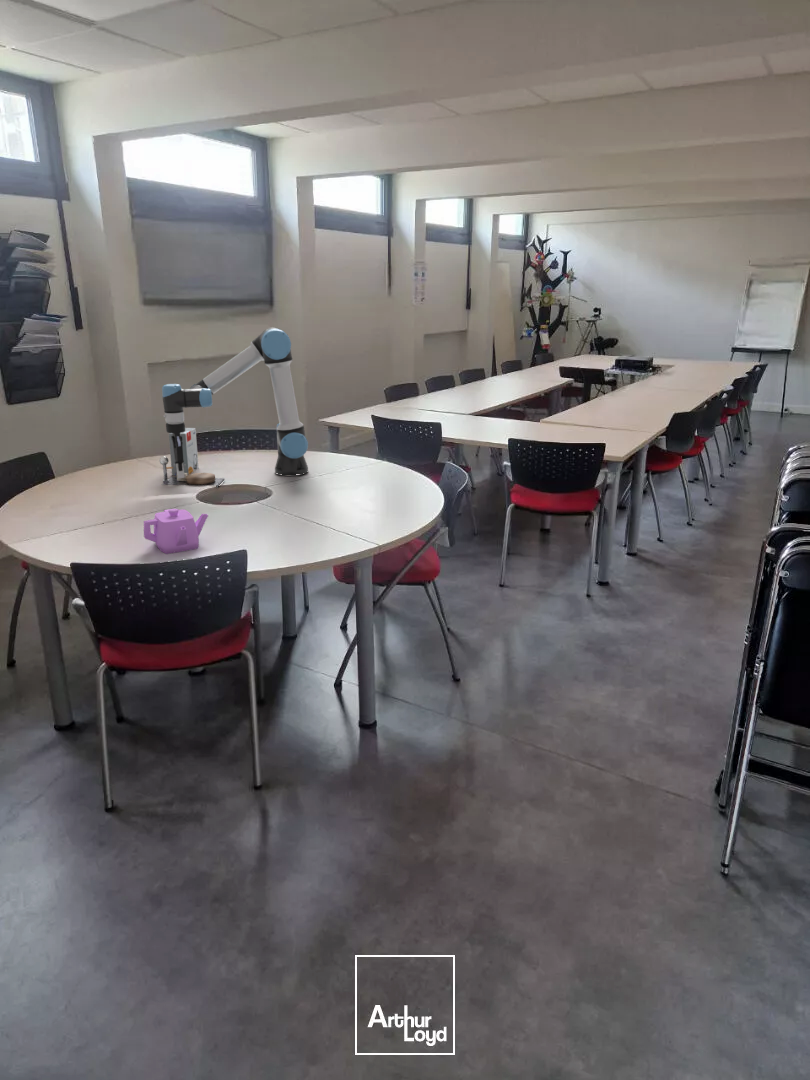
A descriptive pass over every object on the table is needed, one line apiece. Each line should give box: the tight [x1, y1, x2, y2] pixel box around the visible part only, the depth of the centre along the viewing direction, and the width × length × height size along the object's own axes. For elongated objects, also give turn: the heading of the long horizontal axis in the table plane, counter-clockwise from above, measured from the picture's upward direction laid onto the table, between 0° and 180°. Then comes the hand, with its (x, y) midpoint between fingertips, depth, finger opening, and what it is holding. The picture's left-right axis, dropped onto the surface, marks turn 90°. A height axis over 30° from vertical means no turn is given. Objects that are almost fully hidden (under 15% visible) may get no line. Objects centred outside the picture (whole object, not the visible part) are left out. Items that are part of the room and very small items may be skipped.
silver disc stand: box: [159, 456, 173, 484], centre depth 299 cm, size 5×2×11 cm, turn 108°
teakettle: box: [143, 508, 209, 555], centre depth 230 cm, size 17×17×12 cm
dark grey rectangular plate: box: [161, 476, 225, 489], centre depth 302 cm, size 24×12×2 cm, turn 89°
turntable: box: [177, 472, 216, 484], centre depth 302 cm, size 16×12×3 cm
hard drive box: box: [168, 427, 199, 476], centre depth 316 cm, size 16×8×20 cm, turn 179°
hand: (181, 477), depth 300 cm, fingers closed
